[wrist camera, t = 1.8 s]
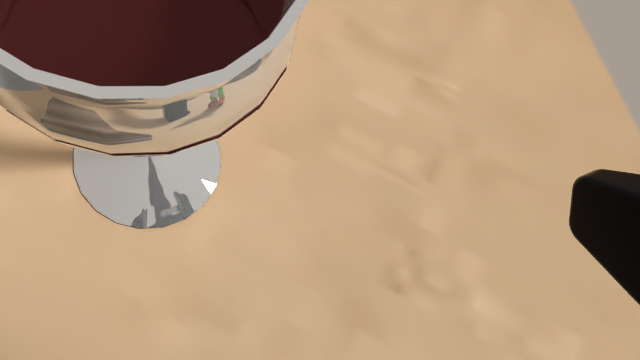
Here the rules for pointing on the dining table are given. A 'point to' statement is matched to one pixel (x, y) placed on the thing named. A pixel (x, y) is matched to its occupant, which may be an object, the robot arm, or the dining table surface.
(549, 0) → the dining table surface
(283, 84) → the dining table surface
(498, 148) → the dining table surface
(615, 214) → the robot arm
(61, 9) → the wineglass
